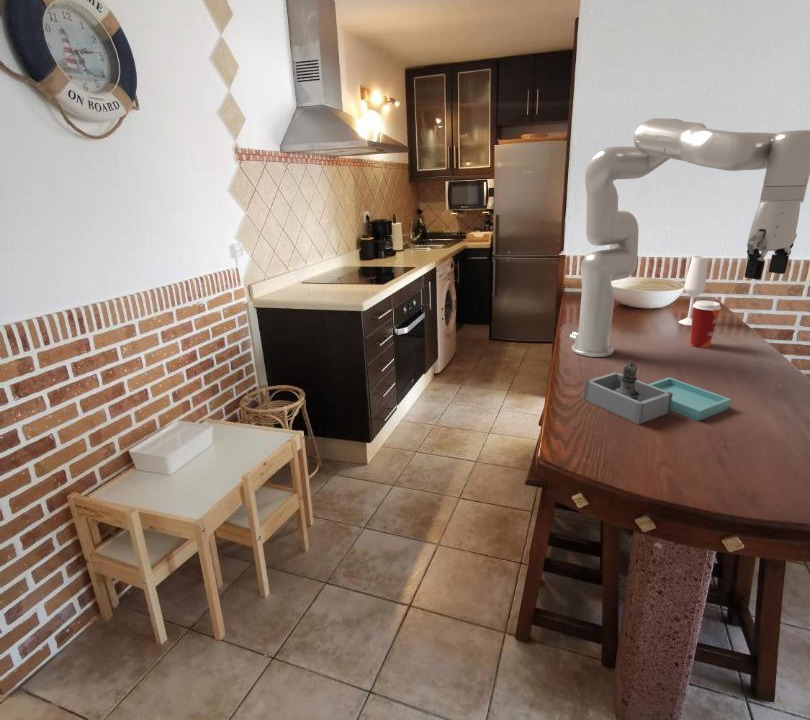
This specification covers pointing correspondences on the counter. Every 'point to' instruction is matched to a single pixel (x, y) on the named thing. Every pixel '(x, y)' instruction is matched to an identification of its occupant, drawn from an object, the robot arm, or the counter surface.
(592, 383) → the deep rectangular frame
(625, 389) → the grey stone turned piece
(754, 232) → the robot arm
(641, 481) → the counter surface
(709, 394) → the tray
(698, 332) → the paper cup
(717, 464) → the counter surface
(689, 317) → the champagne flute
